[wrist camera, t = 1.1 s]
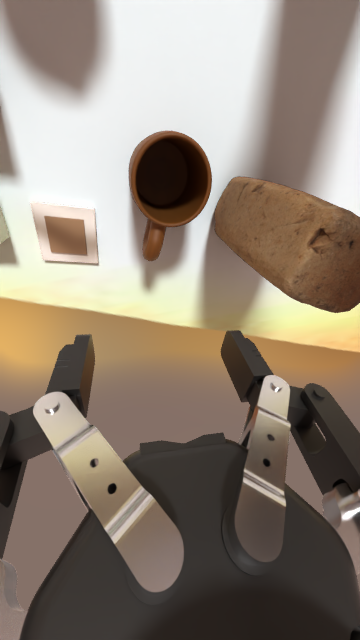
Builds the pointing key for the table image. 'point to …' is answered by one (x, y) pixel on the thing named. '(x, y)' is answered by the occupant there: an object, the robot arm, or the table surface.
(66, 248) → the tile
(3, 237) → the base block
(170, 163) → the mug
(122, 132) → the table surface
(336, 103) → the table surface
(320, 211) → the brown tall piece
